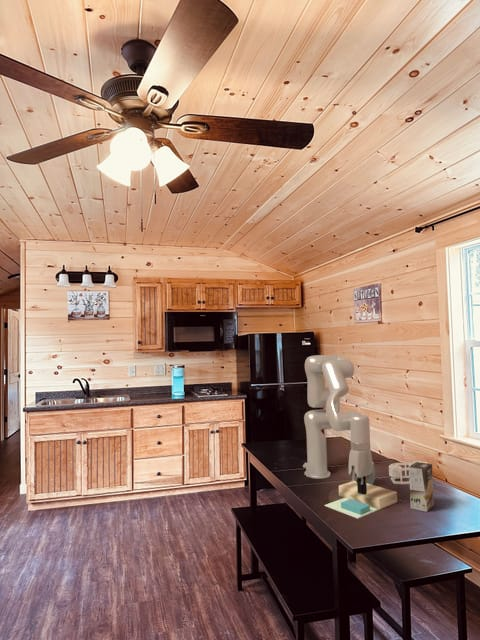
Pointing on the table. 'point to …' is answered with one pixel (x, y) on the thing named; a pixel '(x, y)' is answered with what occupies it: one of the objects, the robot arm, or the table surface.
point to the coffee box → (421, 486)
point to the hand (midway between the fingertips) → (362, 493)
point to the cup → (371, 478)
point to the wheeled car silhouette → (400, 472)
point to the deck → (369, 495)
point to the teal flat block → (355, 506)
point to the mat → (337, 506)
